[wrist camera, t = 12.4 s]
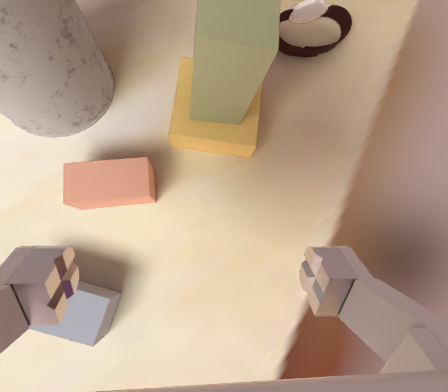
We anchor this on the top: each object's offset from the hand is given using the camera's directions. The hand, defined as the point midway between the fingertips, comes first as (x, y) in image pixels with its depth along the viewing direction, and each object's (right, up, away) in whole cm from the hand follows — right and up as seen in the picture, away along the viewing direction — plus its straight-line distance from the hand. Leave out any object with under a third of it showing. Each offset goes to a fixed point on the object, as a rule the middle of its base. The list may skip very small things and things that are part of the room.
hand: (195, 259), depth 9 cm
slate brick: (-10, -6, +11) cm, 16 cm away
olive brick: (0, +10, +12) cm, 16 cm away
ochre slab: (0, +9, +15) cm, 18 cm away
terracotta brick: (-8, +3, +13) cm, 15 cm away
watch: (+9, +18, +18) cm, 27 cm away
